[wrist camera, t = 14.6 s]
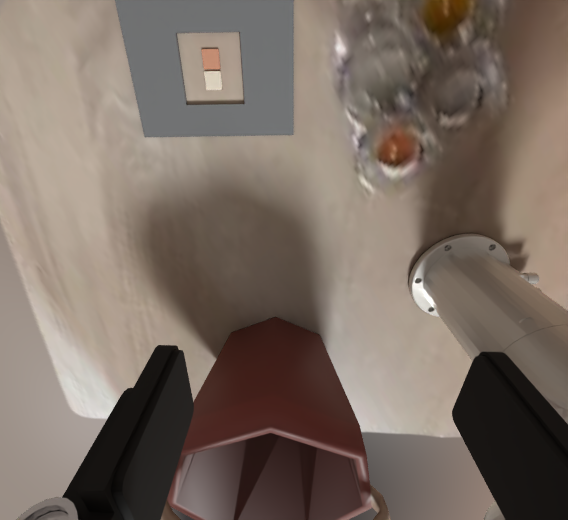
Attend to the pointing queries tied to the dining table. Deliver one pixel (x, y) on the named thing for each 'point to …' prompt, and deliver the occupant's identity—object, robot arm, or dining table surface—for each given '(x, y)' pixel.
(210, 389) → the bucket
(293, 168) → the dining table surface
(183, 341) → the dining table surface
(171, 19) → the grey frame plate
